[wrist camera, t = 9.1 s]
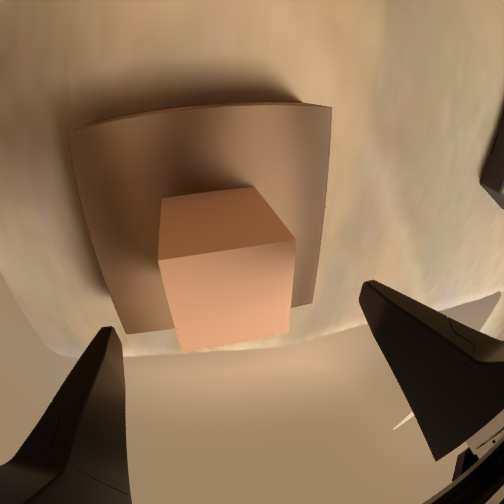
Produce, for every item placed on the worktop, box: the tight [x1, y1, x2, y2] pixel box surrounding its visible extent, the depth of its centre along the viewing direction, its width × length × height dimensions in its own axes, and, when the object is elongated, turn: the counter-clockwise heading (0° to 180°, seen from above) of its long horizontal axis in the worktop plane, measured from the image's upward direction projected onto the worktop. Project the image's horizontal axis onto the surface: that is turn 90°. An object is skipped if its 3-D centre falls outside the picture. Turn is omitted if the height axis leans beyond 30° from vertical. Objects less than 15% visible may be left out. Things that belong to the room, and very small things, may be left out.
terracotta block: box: [158, 187, 296, 352], centre depth 14 cm, size 5×5×6 cm
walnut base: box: [68, 102, 332, 334], centre depth 18 cm, size 14×14×4 cm
